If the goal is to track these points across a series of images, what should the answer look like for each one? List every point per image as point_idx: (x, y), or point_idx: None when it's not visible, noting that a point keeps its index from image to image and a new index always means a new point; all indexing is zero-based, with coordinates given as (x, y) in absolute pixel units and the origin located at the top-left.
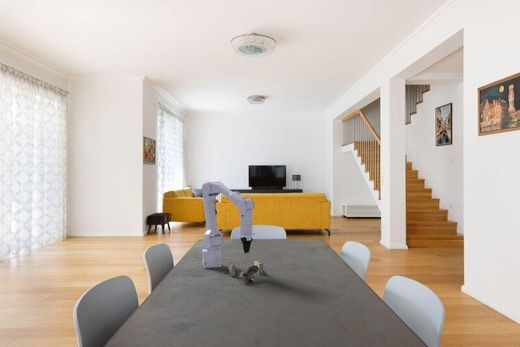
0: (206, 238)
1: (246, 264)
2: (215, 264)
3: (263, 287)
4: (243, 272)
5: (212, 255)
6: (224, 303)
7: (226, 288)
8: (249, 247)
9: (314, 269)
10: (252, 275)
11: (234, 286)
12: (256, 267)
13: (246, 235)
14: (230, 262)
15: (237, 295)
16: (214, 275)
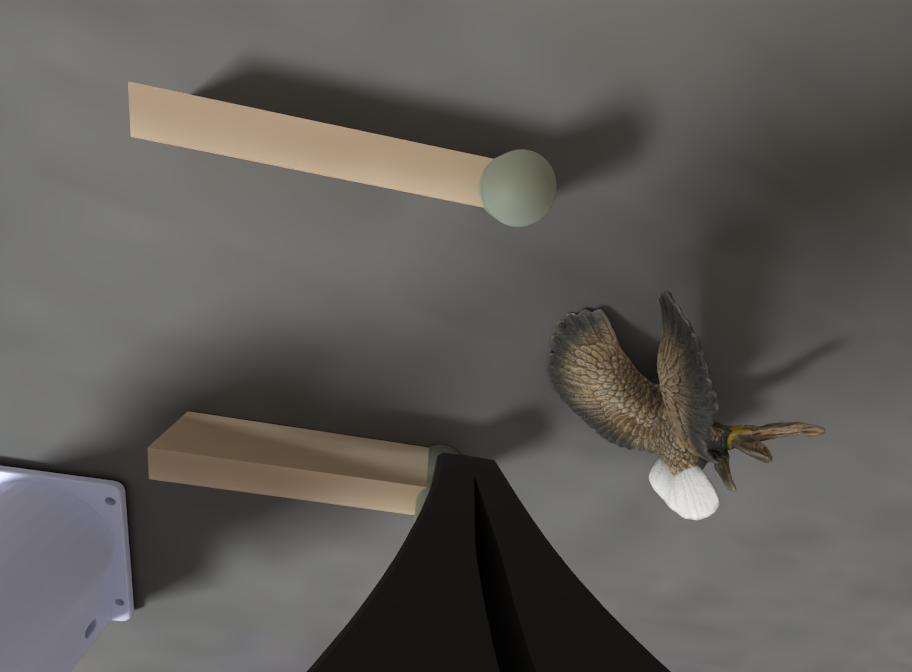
0: None
1: (54, 203)
2: (100, 548)
3: (858, 325)
4: (712, 499)
5: (17, 669)
6: (904, 624)
7: (690, 566)
8: (545, 548)
9: None
10: (808, 431)
11: None
12: (688, 337)
13: None
14: (150, 455)
15: (854, 539)
16: (363, 575)
